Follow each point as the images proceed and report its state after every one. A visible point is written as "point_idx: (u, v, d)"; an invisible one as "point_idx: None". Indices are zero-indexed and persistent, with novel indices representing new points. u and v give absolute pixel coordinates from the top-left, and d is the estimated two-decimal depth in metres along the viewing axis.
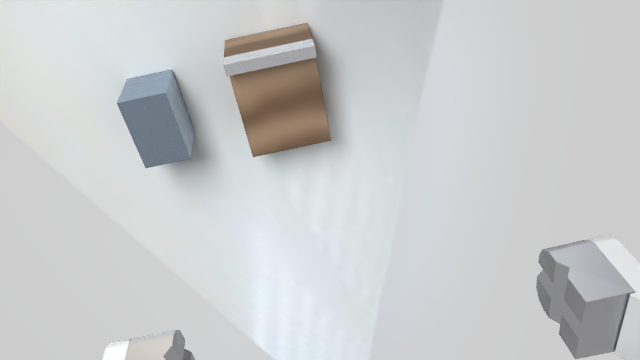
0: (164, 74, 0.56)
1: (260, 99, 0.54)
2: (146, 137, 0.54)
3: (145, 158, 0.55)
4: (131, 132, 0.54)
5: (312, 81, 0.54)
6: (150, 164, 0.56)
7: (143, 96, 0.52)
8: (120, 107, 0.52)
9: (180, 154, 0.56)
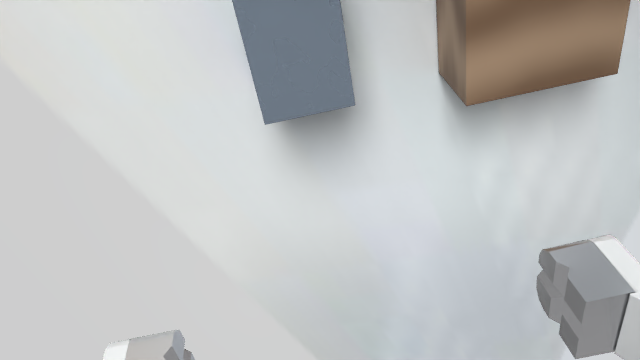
0: None
1: None
2: (276, 56, 0.26)
3: (267, 104, 0.27)
4: (246, 44, 0.25)
5: None
6: (275, 117, 0.28)
7: None
8: None
9: (337, 95, 0.27)
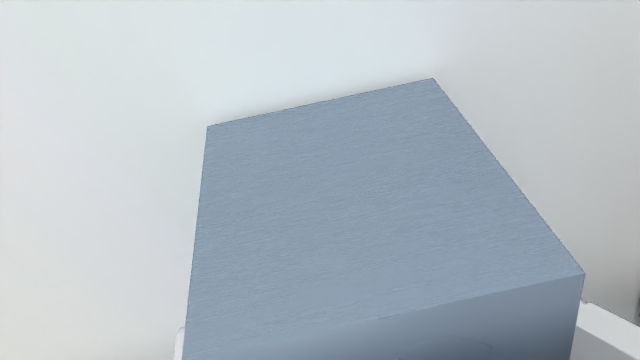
0: (410, 103, 0.10)
1: None
2: None
3: None
4: None
5: None
6: None
7: (393, 300, 0.06)
8: None
9: None
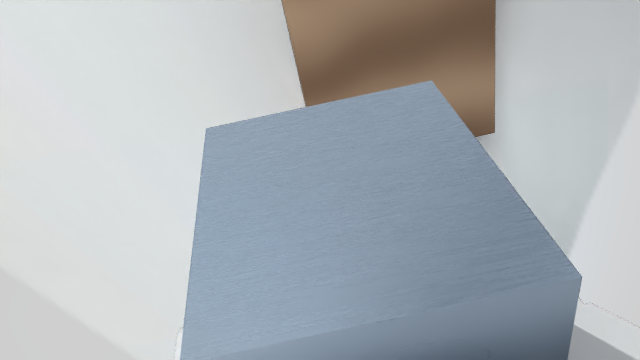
0: (408, 106, 0.10)
1: (348, 34, 0.22)
2: None
3: None
4: None
5: None
6: None
7: (390, 304, 0.06)
8: None
9: None
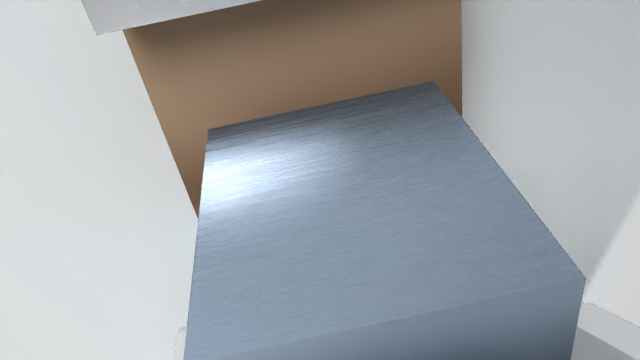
0: (410, 106, 0.10)
1: None
2: None
3: None
4: None
5: (433, 63, 0.15)
6: None
7: (393, 305, 0.06)
8: None
9: None
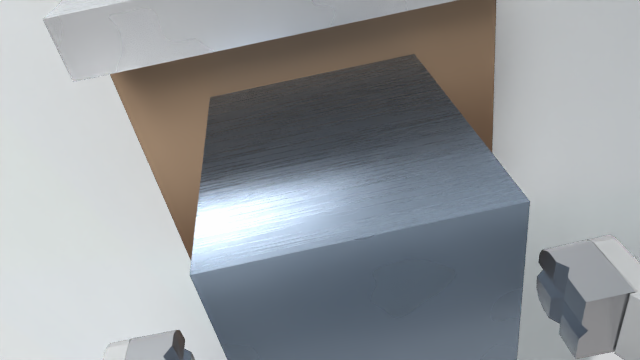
0: (392, 75, 0.12)
1: None
2: None
3: None
4: None
5: (461, 102, 0.13)
6: None
7: (368, 226, 0.08)
8: (211, 298, 0.08)
9: None
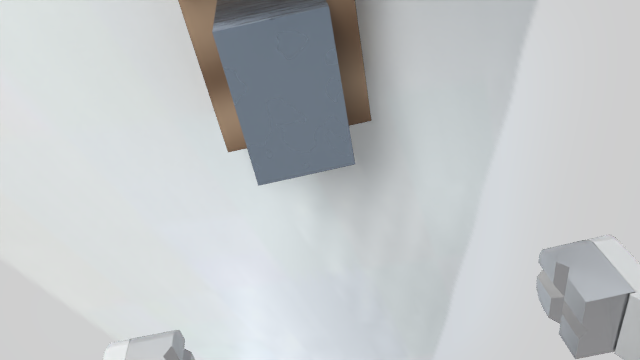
0: None
1: None
2: (269, 116, 0.24)
3: (261, 165, 0.25)
4: (237, 105, 0.23)
5: (338, 1, 0.27)
6: (269, 178, 0.26)
7: (274, 16, 0.22)
8: (219, 43, 0.22)
9: (336, 154, 0.26)
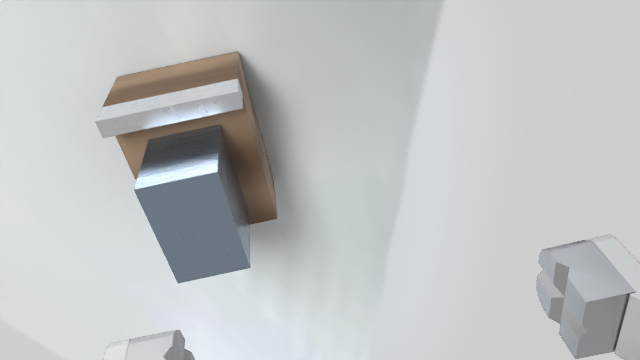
0: (208, 132, 0.34)
1: None
2: (181, 239, 0.33)
3: (178, 270, 0.34)
4: (156, 233, 0.32)
5: (242, 140, 0.36)
6: (185, 278, 0.35)
7: (178, 178, 0.30)
8: (139, 196, 0.31)
9: (235, 262, 0.34)
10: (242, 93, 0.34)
